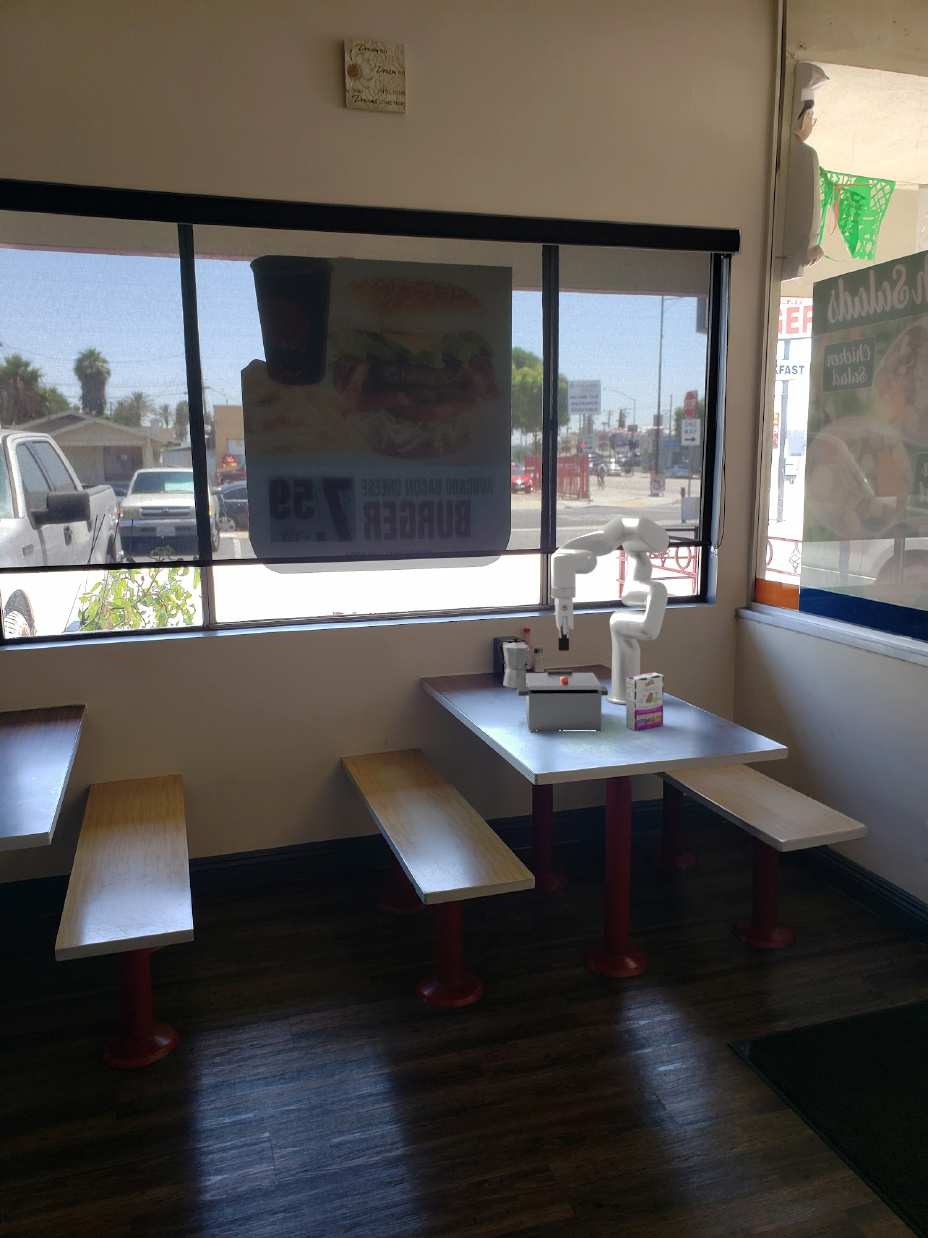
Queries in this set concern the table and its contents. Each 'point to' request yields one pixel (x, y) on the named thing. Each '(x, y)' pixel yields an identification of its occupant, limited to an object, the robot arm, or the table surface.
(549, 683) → the cooker lid
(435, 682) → the table surface
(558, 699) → the grey metal box
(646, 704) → the candy bar box
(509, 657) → the coffeepot
